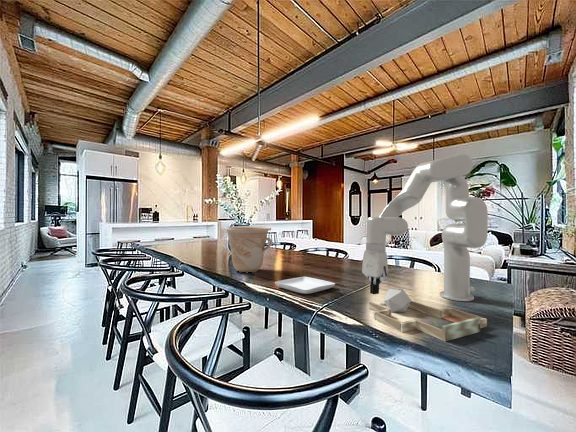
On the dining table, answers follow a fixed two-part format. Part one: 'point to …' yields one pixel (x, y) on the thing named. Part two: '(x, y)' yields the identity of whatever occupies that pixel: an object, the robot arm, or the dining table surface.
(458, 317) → the channel
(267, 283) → the dining table surface
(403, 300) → the die
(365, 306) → the dining table surface
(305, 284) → the salad plate
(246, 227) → the vessel
